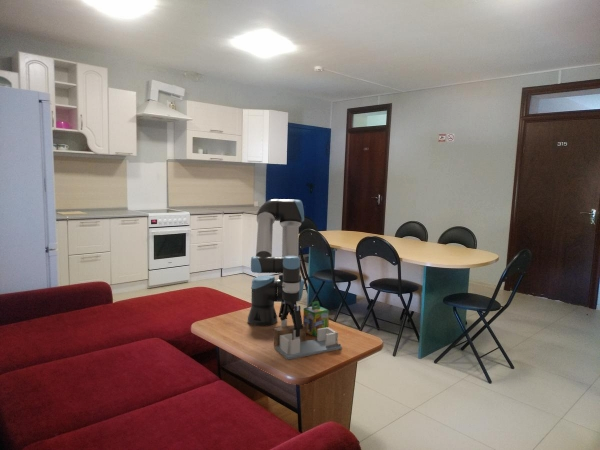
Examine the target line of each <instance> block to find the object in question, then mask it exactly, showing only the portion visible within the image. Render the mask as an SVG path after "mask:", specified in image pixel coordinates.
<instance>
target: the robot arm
mask: <svg viewBox="0 0 600 450" xmlns="http://www.w3.org/2000/svg"><path fill="white" fill-rule="evenodd" d="M275 221H276V222H279V226H281V227H282V231H281V232H282V238H281V239H282V240H281V241H282V244H281V256H273V232H274V231H273V230H274V229H273V228H274V227H273V226H274V224H275ZM256 222H257V235H256V237H257V238H256V249H255V250H256V251H255V255H254V256H252V257H251V259H250V271H251V272H252V273H254V274H268V275H260V276H256V277H254V278H253V279H252V280H251V287H250V288H251V298H250V299H251V302H250V303H251V305H250V309H249V313H248V316H247V323H249V325H252V326H256V327H258V326H259V327H266V326H273V325H274V324H275V325H276V323H277V322H278V318H279V319H280V327H285V326H288V316H289V315H290V316H291V319H292V323H293V324H292V325H294V329H293V330H294V333H293V340H296V339H300V329H303V318H302V312H301V305H297V302H300V301H301V300H302V298H303V293H304V287H305V286H304V285H305V279H304V278H302V274H300V271H301V259H300V257H299V233H300V232H299V228H300V227H301V225H302V223H303V222H305V211H304V205H303V201H302V200H301V199H291V198H290V199H289V198H288V199H285V198H283V199H281V198H280V199H279V198H273V199H269V200H266V201H265V202H264V203H263V204H262V205H261V206H260V207H259V209H258V211H257V213H256ZM271 274H272V275H271ZM273 274H279V275H278V278H275V275H273ZM275 302H277V303H280V302H281V303H280V307H279V313H278V315H277V312H276V309H275V308H276V307H275Z"/></svg>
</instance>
